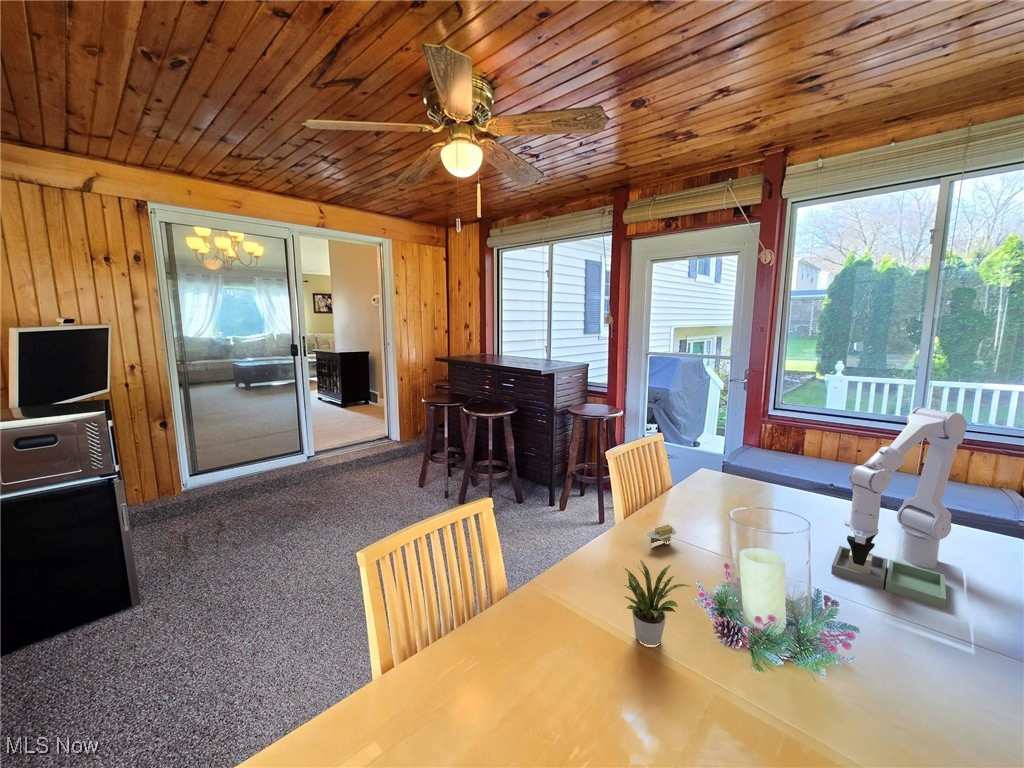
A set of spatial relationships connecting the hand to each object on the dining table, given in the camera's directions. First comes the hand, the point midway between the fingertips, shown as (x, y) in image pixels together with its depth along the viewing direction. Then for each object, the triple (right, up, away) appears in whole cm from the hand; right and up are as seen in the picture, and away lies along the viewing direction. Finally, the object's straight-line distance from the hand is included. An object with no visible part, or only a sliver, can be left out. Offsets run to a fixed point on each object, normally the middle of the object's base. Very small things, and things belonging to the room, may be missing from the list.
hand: (860, 558), depth 116 cm
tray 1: (0, -4, +1) cm, 4 cm away
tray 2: (+8, -5, -7) cm, 12 cm away
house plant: (-64, -9, -22) cm, 68 cm away
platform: (-48, -4, +16) cm, 51 cm away
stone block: (0, -3, 0) cm, 3 cm away
